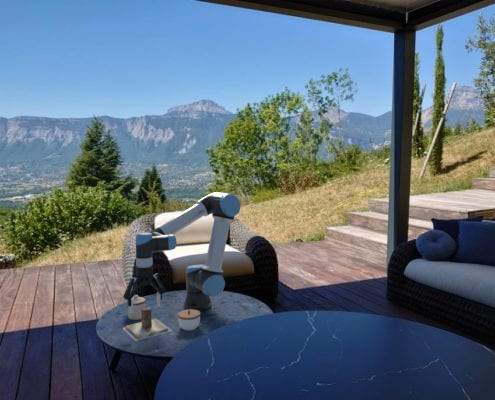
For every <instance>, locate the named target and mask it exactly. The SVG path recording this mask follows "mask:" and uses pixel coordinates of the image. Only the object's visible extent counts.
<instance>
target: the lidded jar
mask: <svg viewBox="0 0 495 400" xmlns="http://www.w3.org/2000/svg"><path fill="white" fill-rule="evenodd" d="M177 320H178V325H179V327H180V329H182V330H184V331H189V332H190V331H194V330H195V329H197V328H198V327H199V326H200V321H201V311H198V310H193V309H189V310H186V309H183V310H181V311H179V312H178V313H177Z"/></svg>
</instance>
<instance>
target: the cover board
mask: <svg viewBox="0 0 495 400" xmlns="http://www.w3.org/2000/svg"><path fill="white" fill-rule="evenodd" d="M141 315H142V319H141V321H140V322H137V323H136V322H135V323H132V324H128V325H126V326H125V327H126V329H127V330H128V331H130V332H131V333H132V334H133V335H134V336H135V337H136V338H137V339H140V338H144V337H147V336H151V335H154V334H158V333H161V332H165V331H168V328H169V327H168V326H167V327H168V328H167V327H166V325H165V324H164V323H163V322H162V321H160V320H159V319H157V318H152V308H151V307H149V306H147V307H146V306H145V308H142V309H141ZM158 320H159V321H160V322H159V321H158ZM162 323H163V324H164V325H163V324H162Z"/></svg>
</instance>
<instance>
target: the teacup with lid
mask: <svg viewBox="0 0 495 400" xmlns="http://www.w3.org/2000/svg"><path fill="white" fill-rule="evenodd" d="M132 299H133V313H130V307H129V306H128V301H127V302H126V303H127V305H126V306H127V313H128V315H127V317H128V319H129V320H133V321H134V320H136V321H137V320H142V315H141V309H142V308H146V298H144V297H141V296H139V295H138V294H135V295H134V296H133V297H132Z"/></svg>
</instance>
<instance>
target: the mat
mask: <svg viewBox="0 0 495 400" xmlns="http://www.w3.org/2000/svg"><path fill="white" fill-rule="evenodd" d="M157 320H158V321H159V322H161V320H159V319H157ZM161 323H162V324H163V325H165V324H164V323H163V322H161ZM165 326H166V325H165ZM166 327H167V328H168V331H165V332H161V333H158V334H154V335H151V336H147V337H144V338H140V339H137V338H136V337H135V336H134V335H133V334H132V333H131V332H130V331H128V330H127V329H126V326H124V327H121V328H122V330H123V331H124V332H125V333H126V334H128V336H129V337H131V339H133V340H134V341H135V342H138V341H142V340H145V339H149V338H153V337H156V336H159V335H163V334H166V333H169V332H172V331H173V330H172V329H171V328H170V327H168V326H166Z"/></svg>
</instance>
